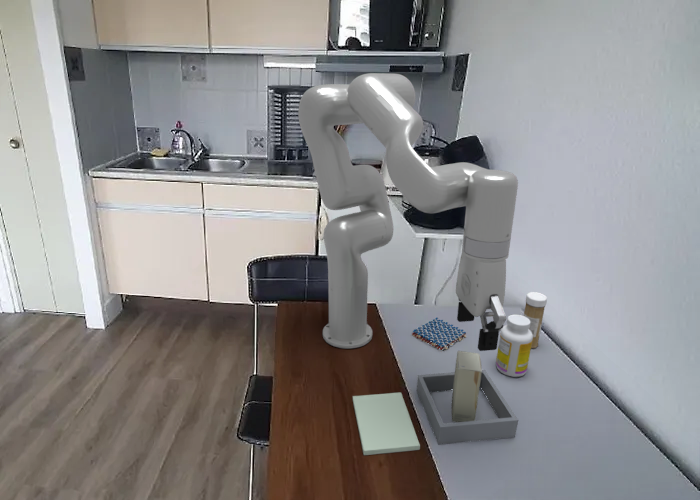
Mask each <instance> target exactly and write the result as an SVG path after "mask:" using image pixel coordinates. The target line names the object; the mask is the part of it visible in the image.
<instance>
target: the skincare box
mask: <svg viewBox="0 0 700 500" xmlns="http://www.w3.org/2000/svg"><path fill="white" fill-rule="evenodd" d="M482 370H483V367H482V360H481V354H480V353H479V352H478V353H477V352H470V351H462V350H457V352H456V358H455V368H454V372H455V376H454V384H453V390H452V395H451V402H452V403H451V404H450V405H451V408H450V409H451V411H450V412H451V422H452V423H456V422H467V421H476V415H477V408H478V400H479V393H480V388H479V387H480V380H481V373H482Z"/></svg>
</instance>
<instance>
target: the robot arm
mask: <svg viewBox="0 0 700 500" xmlns="http://www.w3.org/2000/svg"><path fill="white" fill-rule="evenodd" d="M414 87H415V86H414V85H413V83H412V82H411V80H409V78H407V77H406V76H404V75H402V74H400V73H382V72H381V73H378V72H377V73H376V72H375V73H374V72H370V73H364V74H360V75H359V76H357V77H355V78H354V79H353V80H352V81H351V82H350V83H349V84H348V83H347V84H346V83H343V84H342V83H340V84H339V83H335V84H334V83H332V84H331V83H329V84H328V83H327V84H319V85H315V86H313V87H310V88H308V89H307V90H306V91H304V93H303V94H302V96H301V98H300V101H299V104H298V112H297V113H298V114H297V115H298V122H299V123H298V124H299V125H300V130H301V134H302V135H303V138H304V140H305V143H306V144H307V147H308V149H309V153H310V157H311V160H312V166H313V169H314V173H315V177H316V182H317V186H318V191H319V194H320V198H321V202H322V203H323V205H324V207H325V208H327V209H328V210H330V211H342V210H347V209H352V208H355V207H359V209H360V211H359V212H352V213H348V214H345V215H340V216H337V217H335V218H333V219H331V220H330V221H329V222H328V223H326V225H325V227H324V230H323V242H324V247H325V252H326V259H327V269H328V270H327V272H328V273H327V277H328V279H327V281H328V323H327V324H326V325H325V326H324V327H323V329H322V337H323V340H324V341H325V342H326V343H327V344H328V345H330V346H333V347H336V348H339V349H346V350H347V349H356V348H357V349H358V348H361V347H363V346H365V345H367V344H368V343H369V342H370V341H371V340H372V338H373V329H372V327H371V326H370V325H369V324H368V321H367V320H368V319H367V318H368V317H367V316H368V314H367V313H368V287H369V286H368V285H369V283H368V281H369V272H368V268H367V265H366V264H365V262H364V261H363V259H362V257H361V256H362V254H365V253H367V252H370V251H373V250H376V249H380V248H382V247H385V246H386V245H388V244H389V243H390V242H391V240H392V239H393V236H394V222H393V217H392V212H391V208H390V203H389V197H388V194H387V193H388V192H387V188H386V183H385V181H384V179H383V178H384V177H383V176H382V174H381V173H380V171H379V170H378V169H377V168H376V167H374V166H372V165H370V164H356V165H353V163H352V160H351V157H350V156H351V155H350V152H349V148H348V145H347V143H346V142H345V140H344V139H343V137H342V136H341V134H340V133H339V132H337V131H336V129H335V128H334V126H343V125H344V126H347V125H358V124H359V125H360V124H364V126H366V128H367V129H368V130H369V131H370V132H371V133H372V134H373V135H374V136H375V138H377V140H378V141H379V142H380V143H381V145H383V147H384V149H385V164H386V169H387V173H388V177H389V179H390V180H391V182H392V183H393V185H394V187H395V188H396V190H398V191H399V193H401V195H402V196H403V197H404V198H405V199H406V200H407V201H408V202H409V204H411V205H412V206H413V208H416V209H417V210H418V211H420V212H423V213H425V214H437V213H441V212H445V211H447V210H452V209H457V208H462V207H465V215H464V226H463V237H462V247H461V254H460V258H459V263H458V269H457V278H456V283H455V294H456V296H457V298H458V305H457V316H456V317H457V318H456V320H457V322H459V323H463V322H464V323H465V322H474V320H475V318H478V317H480V323H481V328H480V329H479V332H478V333H479V334H478V340H477V341H478V343H477V350H478V351H479V352H485V351H495V350H498V344H499V337H500V332H501V329H502V328H503V327H504V324H505V323H506V322H507V315H506V313H505V311H504V308H503V307H504V303H505V295H506V280H507V259H508V258H509V254H510V246H511V238H512V231H513V224H514V217H515V210H516V202H517V195H518V189H519V188H518V186H519V182H518V181H519V180H518V178H517V176H516V175H515V174H514V173H513V172H510V171H507V170H502V169H501V170H500V169H488V168H485V167H483V166H479V165H477V164H474V163H470V162H466V161H465V162H464V161H463V162H455V163H449V164H443V165H441V164H440V165H436V166H435V165H434V166H432V167H431V166H429V165H428V163H426V161H425V160H424V159H422V157H421V156H420V155H419V154H418V153H417V152H416V150H415V149H414V147H413V145H414V144H416V142H417V141H418V139H419V137H420V136H421V134H422V132H423V128H424V121H423V118H422V115H420V113H418V112H417V110H415V109H414V108H413V107H414V106H415V102H416V91H415V88H414ZM487 310H491V311H487ZM488 317H492V319H493V320H492V321H490V322H489V323H488V319H487V318H488Z"/></svg>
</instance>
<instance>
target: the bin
mask: <svg viewBox="0 0 700 500" xmlns="http://www.w3.org/2000/svg"><path fill="white" fill-rule="evenodd" d="M454 376H455V371H453V372H441V373H439V372H438V373H425V374H418V375H417V379H416V380H417V381H416V393H417V395H418V398H419V401H420V403H421V406H422V409H423V410H424V413H425V415H426V418H427V420H428V422H429V425H430V427H432V428H431V430H432V433H433V432H434V433H433V434H434V435H433V436H434V437H435V440H436V442H437V445H448V444H449V445H450V444H457V443H458V444H459V443H461V444H462V443H469V442H470V441H471V442H479V440H480V441H489V440H490V441H491V440H498V439H500V440H501V439H511V438H516V436H517V430H518V425H519V418H517V415H516V414H515V412H514V411H513V409H512V408H511V407H510V405H509V404H508V402H507V401H506V399H505V397H504V396H503V395H502V393H501V392H500V390H499V389H498V387H497V386H496V384H495V383H494V381H493V380H492V378H491V377H490V375H489V373H488V372H487V371H486V370H485V369H482V373H481V380H480V387H481V388H482V390H483V391H484V393H485V394H484V393H483V394H484V396H485V395H486V396H487V398H488V399H487V398H486V399H487V401H488V400H489V401H488V402H490V403H491V404H490V403H489V404H490V406H491V405H492V406H493V407H492V406H491V407H492V409H493V408H494V409H493V411H494V410H495V411H494V413H495V414H496V413H497V414H496V416H497V415H498V416H497V417H498V418H490V419H479V420H475V421H467V422H447V423H444V422H443V420H442V418H441V416H440V413H439V411H438V409H437V405H436V404H435V402H434V400H433V398H432V395H431V394H430V393H437V391H439V392H447V390H451V389H453V384H454ZM481 388H480V389H481ZM445 390H446V391H445ZM482 390H481V391H482ZM451 391H452V390H451ZM483 391H482V392H483ZM486 396H485V397H486Z"/></svg>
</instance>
